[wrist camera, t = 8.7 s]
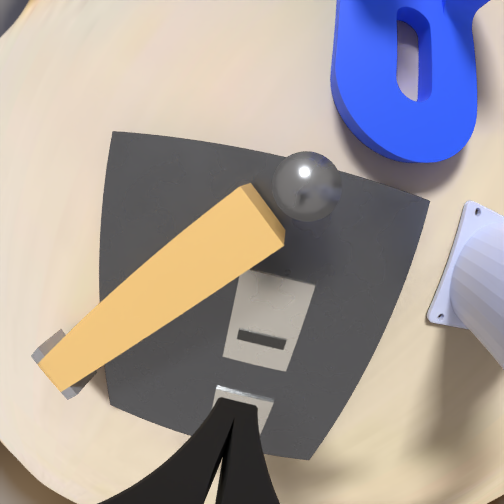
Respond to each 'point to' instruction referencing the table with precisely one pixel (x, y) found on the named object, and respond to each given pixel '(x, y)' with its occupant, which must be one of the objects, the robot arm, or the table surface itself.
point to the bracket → (385, 85)
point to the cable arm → (165, 287)
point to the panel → (256, 286)
